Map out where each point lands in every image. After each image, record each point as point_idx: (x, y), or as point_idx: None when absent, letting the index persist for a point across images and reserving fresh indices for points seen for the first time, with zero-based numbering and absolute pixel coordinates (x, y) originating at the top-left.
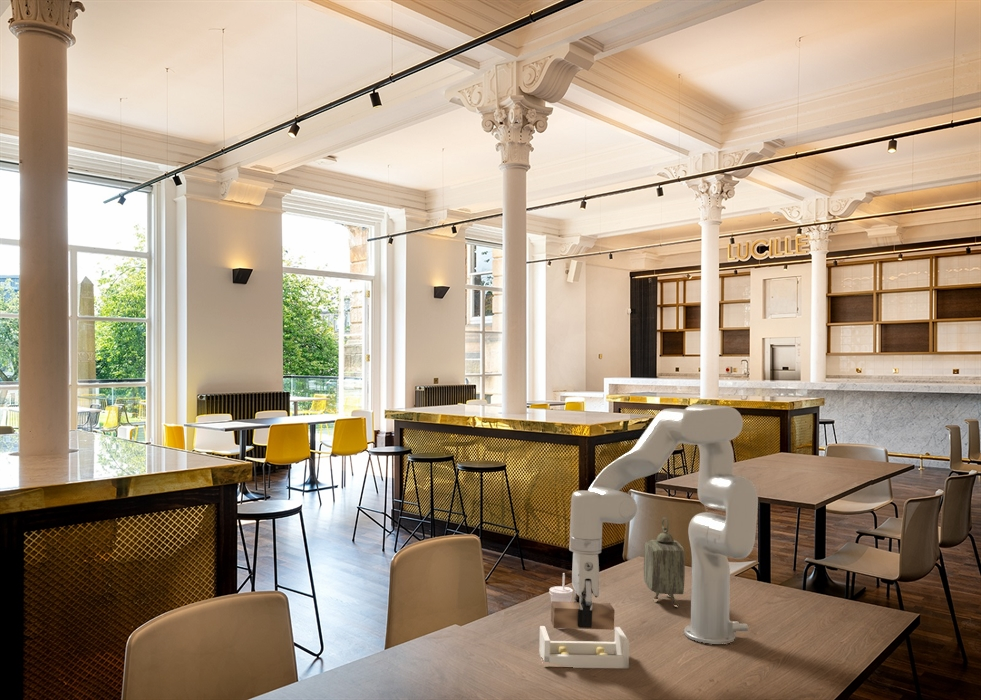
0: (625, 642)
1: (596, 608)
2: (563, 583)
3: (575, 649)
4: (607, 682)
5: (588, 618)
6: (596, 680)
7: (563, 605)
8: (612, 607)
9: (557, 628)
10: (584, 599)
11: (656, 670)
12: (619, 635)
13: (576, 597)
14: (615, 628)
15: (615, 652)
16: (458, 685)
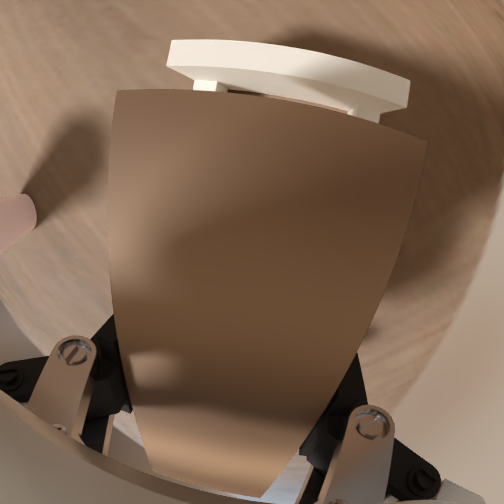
0: (406, 101)
1: (323, 353)
2: None
3: None
4: (446, 230)
5: (360, 377)
6: (425, 256)
7: (218, 474)
8: (318, 114)
9: (35, 225)
10: (98, 373)
11: (393, 20)
12: (291, 77)
13: (110, 427)
14: (183, 66)
15: (227, 88)
16: None
